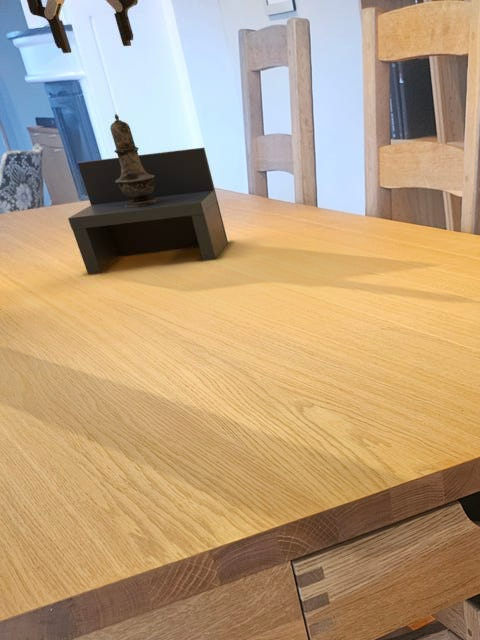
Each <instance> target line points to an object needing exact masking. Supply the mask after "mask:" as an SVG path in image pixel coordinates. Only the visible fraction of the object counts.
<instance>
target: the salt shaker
mask: <svg viewBox="0 0 480 640" xmlns="http://www.w3.org/2000/svg"><path fill="white" fill-rule="evenodd" d="M114 119H115V120H114V122H113V123H111V125H110V128H109V129H110V133H111V136H112V140H113V142H114V146H115V150H114V153H116V154H117V158H119V161H120V164H121V172H122V175H121V177H120V178H119V179H118V180H116V181H115V182H116V183H118V184H119V187H120V189H121V191H122V192H123V193H124V194H125V195H126V196H128V197H132V198H134V199H133V201H130V202H127V204H126V205H125V207H141V206H147V205H152V204H156V203H159V202H160V200H157V199H156V198H149V197H148V195H150V194H151V193H152V192H153V190H154V180H153V178H154V177H155V176H154V175H150V174H149V173H147V172H146V171H145V170H144V168H143V167H142V165H141V162H140V159H139V155H140V154H139V152H138V151H139V149H140V148H139V147H137V146H136V144H135V140H134V136H133V134H132V130H131V127H130V125H129V124H128V123H127V122H125V121H123V120H121V119H120V116H119V115H118V114H117V113H115V114H114Z"/></svg>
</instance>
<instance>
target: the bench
mask: <svg viewBox="0 0 480 640" xmlns="http://www.w3.org/2000/svg"><path fill="white" fill-rule="evenodd" d="M138 155H139V159H140V162H141V165H142V167H143V168H144V170H145V171H146V172H147V173H149V174H150V175H154V176H155V177H154V178H153V180H154V190H153V192H152V193H151V194H150V195H148V197H149V198H156V199H157V200H160V202H159V203H156V204H152V205H147V206H141V207H125V205H126V204H127V202H130V201H133V199H134V198H132V197H128V196H126V195H125V194H124V193H123V192H122V191H121V189H120V187H119V184H118V183H116V182H115V181H116V180H118V179H119V178H120V177H121V175H122V172H121V164H120V161H119V158H118V157H113V158H102V159H95V160H94V159H93V160H86V161H85V160H84V161H78V162H77V163H76V164H77V167H78V171H79V173H80V176H81V179H82V183H83V186H84V188H85V191H86V194H87V198H88V201H89V203H90V205H88V206H87V207H85V208H84V209H82V210H80V211H78V212H77V213H75V214H73V215H71V216H69V217H68V218H67V221H68V223H69V225H70V228H71V230H72V233H73V236H74V238H75V241H76V244H77V248H78V250H79V253H80V256H81V258H82V262H83V264H84V267H85V270H86V273H87V275H96V274H102V272H104V271H105V270H106V269H107V268H108V267H109V266H111V265H112V264H113V263H114V262H116V261H117V260H118V259H119V258H121V257H126V256H134V255H144V254H151V253H159V252H169V251H176V250H184V249H193V248H199V250H200V254H201V257H202V260H203V261H208V260H216V259H217V258H218V257H219V255H220V254H221V253H222V251H223V250H224V248H225V247H226V245H227V244H228V243H229V239H228V237H227V233H226V229H225V225H224V221H223V216H222V212H221V208H220V205H219V200H218V196H217V193H216V188H215V184H214V180H213V177H212V172H211V169H210V164H209V160H208V157H207V153H206V149H205V147H199V148H198V147H195V148H188V149H180V150H172V151H171V150H170V151H162V152H154V153H153V152H152V153H146V154H145V153H144V154H138Z"/></svg>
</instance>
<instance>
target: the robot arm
mask: <svg viewBox="0 0 480 640" xmlns="http://www.w3.org/2000/svg"><path fill="white" fill-rule="evenodd" d="M65 1H66V0H46V4H45V6H44V5H43V1H42V0H26V2H27V7H28V9H29V13H30V14H31V15H32V16H37V17H40V18H44V19H45V20H46V21H47V23H48V26H49V28H50V31H51V35H52V37H53V41H54V44H55V46H56V47H57V49H61V51H62V53H63V54H70V53H72V47H71V45H70V42H69V39H68V35H67V32H66V28H65V25H64V22H63V20H61V19H60V15H61V11H62V7H63V6H64V4H65ZM105 1H106V3H107V4H109V6H111V8H112V9H113V10H114V11H115V13H114V14H113V15H114V18H115V21H116V22H115V23H116V26H117V29H118V33H119V36H120V40H121V44H122V46H123V47H131V46H132V42H131V41H134V33H133V30H132V25H131V22H130V18H129V14H128V12H129V10H130V9H131V8H132V7H134V6H137V4H138V2H139V1H138V0H105Z"/></svg>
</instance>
